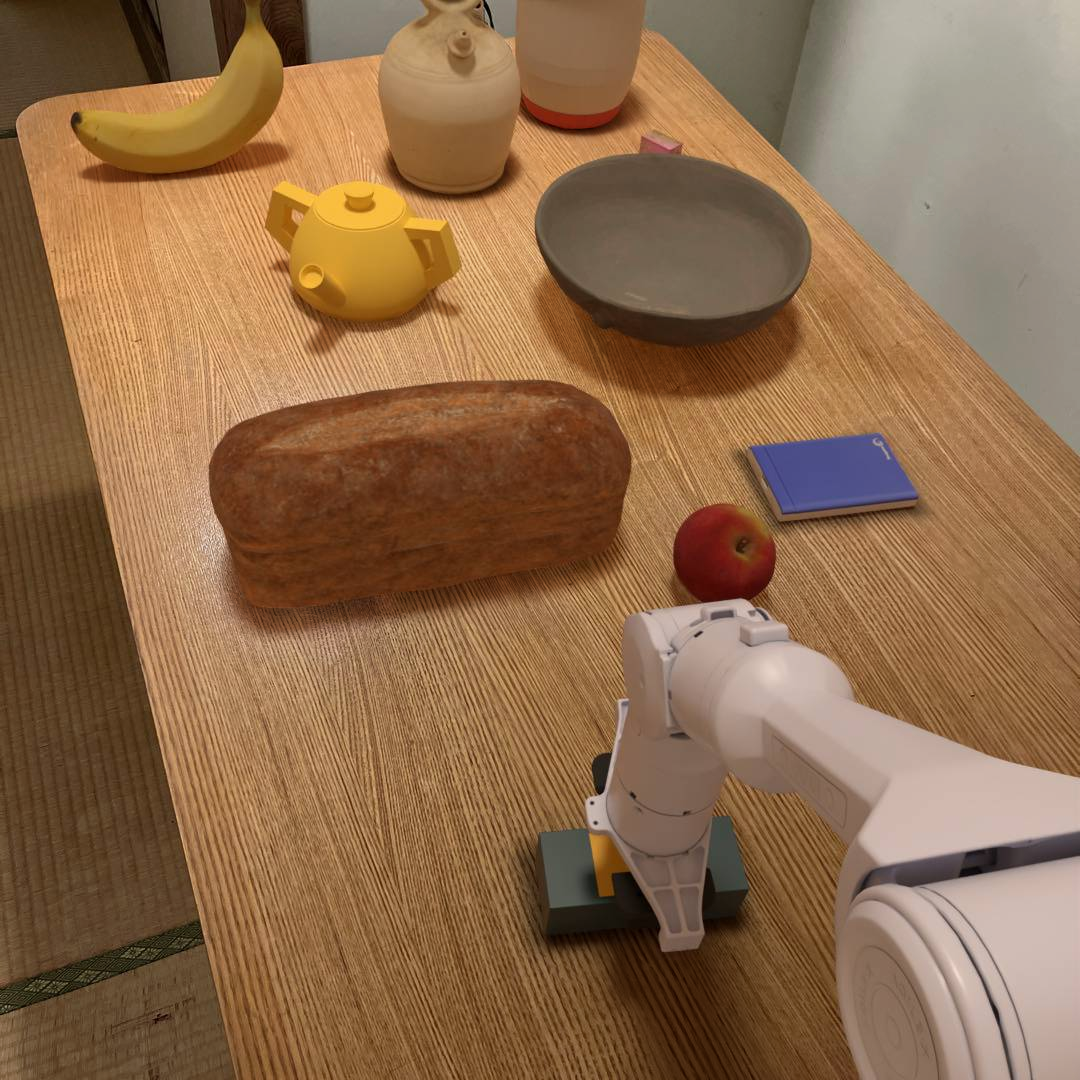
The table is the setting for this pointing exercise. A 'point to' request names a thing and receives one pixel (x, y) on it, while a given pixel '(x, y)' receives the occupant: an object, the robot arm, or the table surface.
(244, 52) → the banana
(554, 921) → the packet
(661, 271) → the bowl
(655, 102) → the table surface
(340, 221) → the teapot
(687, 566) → the apple
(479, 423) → the bread
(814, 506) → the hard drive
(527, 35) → the citrus juicer
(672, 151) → the perfume bottle
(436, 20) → the jug
